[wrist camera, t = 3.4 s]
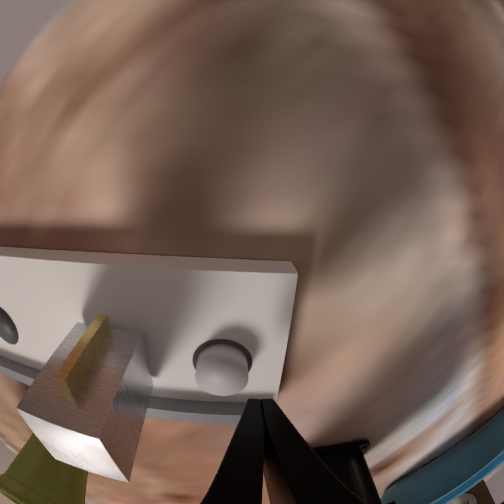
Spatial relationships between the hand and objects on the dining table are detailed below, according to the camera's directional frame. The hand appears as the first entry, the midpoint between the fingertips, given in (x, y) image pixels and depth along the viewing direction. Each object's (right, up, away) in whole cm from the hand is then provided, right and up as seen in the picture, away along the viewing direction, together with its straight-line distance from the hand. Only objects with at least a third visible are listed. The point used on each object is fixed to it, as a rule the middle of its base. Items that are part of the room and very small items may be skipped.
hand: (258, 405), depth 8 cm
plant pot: (-18, -13, +7) cm, 24 cm away
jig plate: (-8, +1, +3) cm, 9 cm away
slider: (-6, +1, +1) cm, 6 cm away
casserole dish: (+32, -26, +15) cm, 44 cm away
